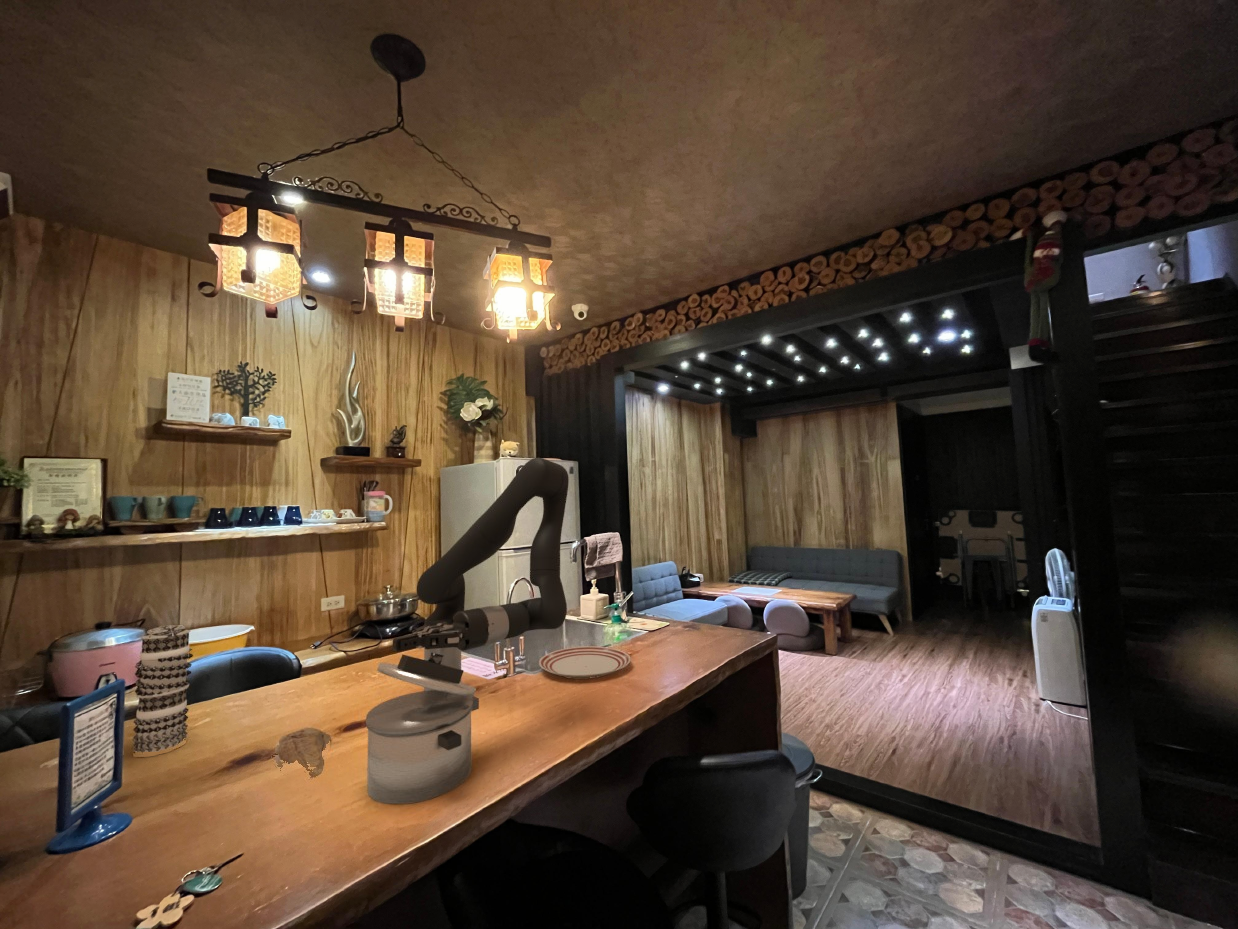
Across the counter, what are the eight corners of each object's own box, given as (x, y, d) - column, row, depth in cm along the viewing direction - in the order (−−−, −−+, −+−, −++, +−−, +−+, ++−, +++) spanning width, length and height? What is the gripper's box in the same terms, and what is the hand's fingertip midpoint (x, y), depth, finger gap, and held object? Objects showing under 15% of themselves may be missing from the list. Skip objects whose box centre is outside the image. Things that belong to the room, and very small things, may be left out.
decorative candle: (197, 735, 112) (202, 620, 114) (175, 754, 103) (181, 629, 105) (146, 743, 109) (152, 624, 111) (119, 762, 100) (127, 633, 102)
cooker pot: (376, 757, 98) (377, 694, 99) (478, 741, 104) (477, 681, 105) (352, 822, 77) (353, 740, 78) (481, 797, 83) (480, 721, 84)
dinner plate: (650, 667, 149) (649, 656, 150) (577, 692, 131) (577, 679, 131) (591, 651, 169) (590, 641, 170) (521, 671, 151) (521, 659, 151)
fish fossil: (344, 771, 94) (343, 765, 94) (278, 797, 87) (278, 790, 87) (318, 727, 113) (318, 722, 114) (263, 745, 107) (263, 740, 107)
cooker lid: (443, 682, 104) (453, 656, 106) (491, 702, 92) (501, 672, 94) (361, 663, 93) (374, 635, 95) (403, 683, 81) (417, 650, 83)
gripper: (463, 604, 106) (379, 619, 94) (498, 611, 97) (411, 628, 85) (463, 641, 106) (378, 660, 93) (499, 651, 97) (410, 674, 84)
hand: (394, 645), depth 89 cm, fingers closed
